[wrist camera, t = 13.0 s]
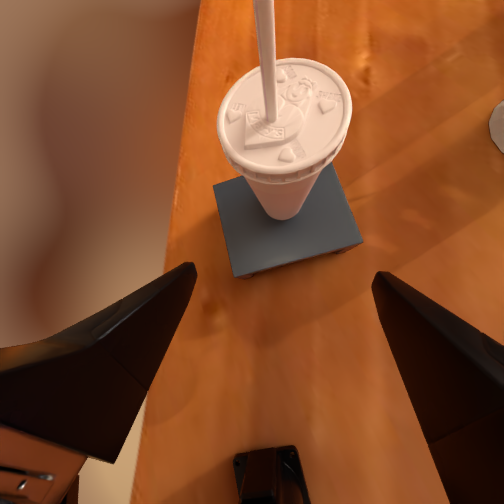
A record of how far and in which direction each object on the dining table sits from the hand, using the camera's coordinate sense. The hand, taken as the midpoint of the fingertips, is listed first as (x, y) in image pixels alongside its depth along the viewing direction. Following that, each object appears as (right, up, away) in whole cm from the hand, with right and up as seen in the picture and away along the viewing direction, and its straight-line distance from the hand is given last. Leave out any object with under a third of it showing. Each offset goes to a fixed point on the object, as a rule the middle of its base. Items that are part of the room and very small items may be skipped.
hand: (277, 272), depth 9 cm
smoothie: (+2, +6, +9) cm, 11 cm away
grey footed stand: (+2, +4, +13) cm, 14 cm away
